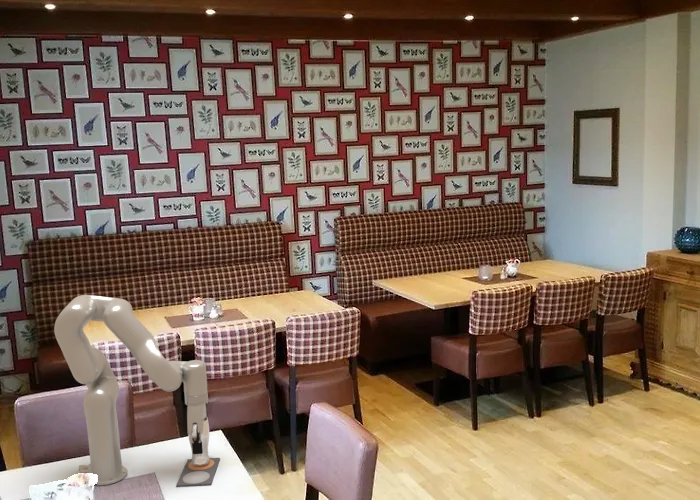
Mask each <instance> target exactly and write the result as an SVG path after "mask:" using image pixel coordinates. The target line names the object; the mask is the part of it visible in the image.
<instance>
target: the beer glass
mask: <svg viewBox="0 0 700 500" xmlns="http://www.w3.org/2000/svg"><path fill="white" fill-rule="evenodd" d="M197 433H199V430H198V429H197ZM187 436H188V440H189V441H188V442H189V445H190V449H191V459H192V460H191V463H192V464H193V465H195V466H201V465H205V464H207V463H209V462H210V459H209V458H210V455H209V441H210V425H209V418H208V416H206V420H205V421H204V427H203V433H202V434H201V442H202V448H203V453H202V454H193V450H192V433H191V434H190V435H188V434H187ZM197 437H198V438H199V435H197Z"/></svg>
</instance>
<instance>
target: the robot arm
mask: <svg viewBox="0 0 700 500" xmlns="http://www.w3.org/2000/svg"><path fill="white" fill-rule="evenodd" d="M133 312H134V311H133V306H132V304H131V303H130V302H129V301H128V300H126V299H123V298H120V297H119V298H118V297H110V296H102V295H101V296H100V295H93V294H92V295H91V294H82V295H78V296H76V297H74V298H73V299H72V300H71V301H70V302H69V303H68V304H66V306H65V307H64V308H63V309H62V311H61V312H60V313H59V315H58V316H57V317H56V319H55V322H54V328H53V329H54V335H55V339H56V341H57V344H58V345H59V346H58V347H60V349H61V353H62V354H63V357H64V359H65V361H66V364H67V365H68V368H69V370H70V372H71V374H72V376H73V378H74V380H75V381H76V382H78V384H79V383H80V384H82V385H86V387H87V391H86V392H85V395H84V399H83V411H84V416H85V422H86V431H87V439H88V449H89V450H88V451H89V460H90V463H89V464H79V465H78V472H79V473H84V474H87V473H93V474H97V475H98V482H97V485H96V486H107V485H112V484H115V483H118V482H120V481H122V480H124V479H125V478H126V477H127V476H128V469H127V468H126V467H125V466H123V464H122V454H121V444H120V443H121V442H120V441H121V440H120V431H119V423H118V414H117V406H116V402H117V398H118V395H119V392H120V387H119V384H118V383H119V382H118V380H117V379H116V375H115V374H114V372H113V369H112V367H111V364H110V363H109V361H108V359H107V357H106V355H105V354H104V352H103V351H102V350H100V349H99V348H96V347H92V345H91V343H90V341H89V338H88V336H87V335H86V334H85V332H84V328H85V326H87V324H89V322H91V321H95V322H103V323H104V325H105V326H106V328H108V330H109V331H110V332H111V333H113V335H114V336H115V337H116V338H117V339H118V340H119V341H120V342H121V343H122V344H123V345H124V346H125V348H127V349H128V350H129V352H130V353H131V354H132V356H133V358H134V359H135V360H136V362H137V363H138V364H139V366H140V367H141V369H142V370H143V371H144V373H145V374H146V375H147V376H148V378H149V379H150V380H152V381H153V382H154V384H155V385H156V386H157V387H159V388H160V389H161V390H162V391H164V392H174V391H176V390H177V389H179V388H180V386H181V385H182V382H183V392H184V393H183V394H184V405H186V406H187V407H186V409H187V410H186V419H187V420H186V422H187V423H186V424H187V436H188V435H190V434H191V433H192V450H193V454H202V453H203V448H202V442H201V434H202V433H203V427H204V421H205V420H206V417H207V406H206V404H208V403H209V395H208V393H209V392H208V377H207V364H206V362H204V360H198V359H194V360H193V359H192V360H189V361H182V360H169V361H168V360H167V359H166V358H165V357H164V356H163V353H161V351H160V350H159V348H158V345H157V343H156V338H155V337H154V336H153V334H152V332H150V331H149V330H148V328H147V327H146V326H145V325H144V324H143V323H142V322H141V321H140V320H139V318H137V316H135V315H134V314H133ZM197 429H198V430H199V433H197ZM197 435H199V438H198V437H197ZM192 450H191V451H192Z"/></svg>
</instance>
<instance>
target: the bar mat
mask: <svg viewBox="0 0 700 500" xmlns="http://www.w3.org/2000/svg"><path fill="white" fill-rule="evenodd" d="M209 459H210V462H209V463H207V464H205V465H201V466H195V465H193V464H192V463H191V460H192V458H187V459H186V463H185V465H184V467H183V469H182V471H181V472H180V475H179V478H178V480H177V482H176V484H175V487H176V488H182V487H201V486H202V487H204V486H212V483H213V481H214V478H215V475H216V472H217V470H218V467H219V463H220V461H221V457H209Z"/></svg>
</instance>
